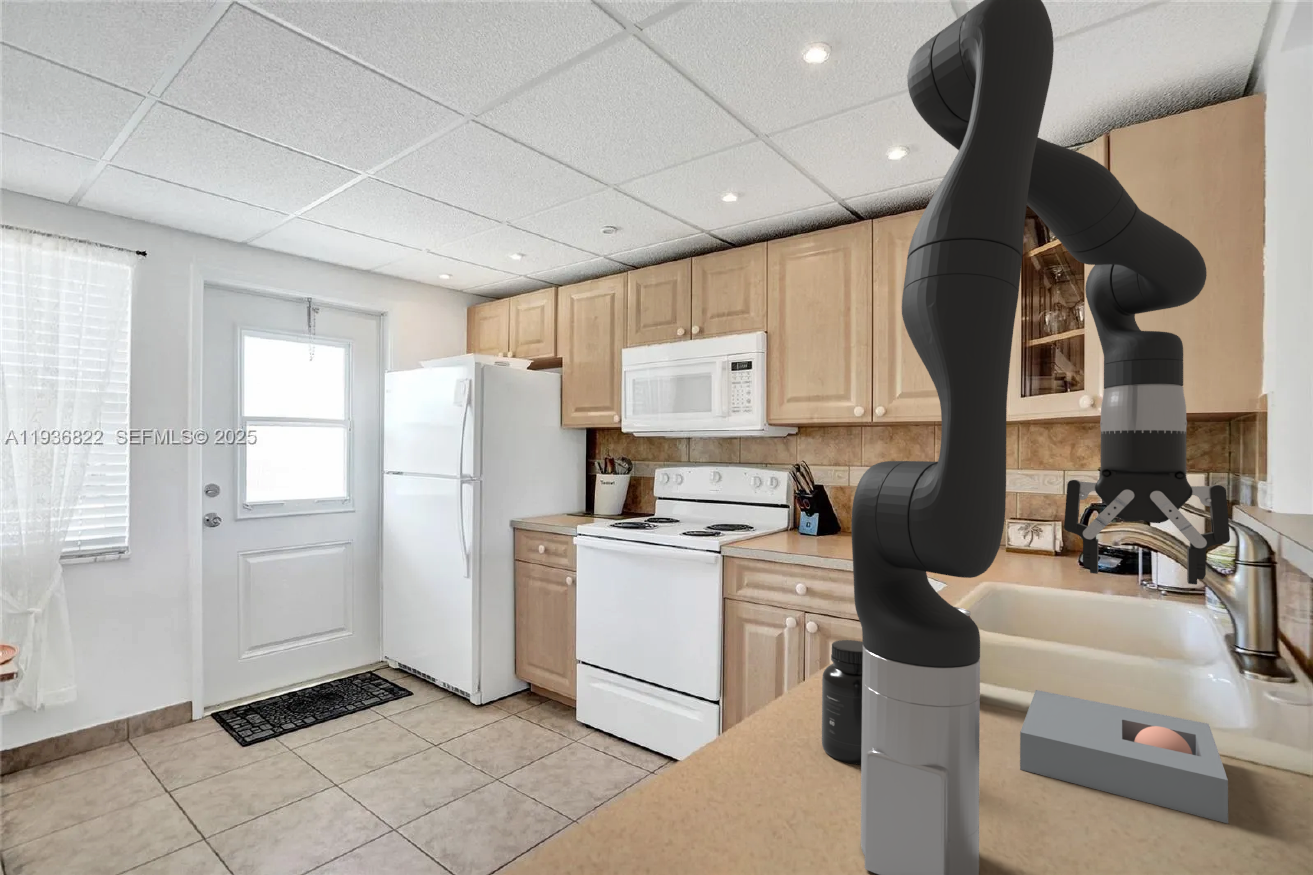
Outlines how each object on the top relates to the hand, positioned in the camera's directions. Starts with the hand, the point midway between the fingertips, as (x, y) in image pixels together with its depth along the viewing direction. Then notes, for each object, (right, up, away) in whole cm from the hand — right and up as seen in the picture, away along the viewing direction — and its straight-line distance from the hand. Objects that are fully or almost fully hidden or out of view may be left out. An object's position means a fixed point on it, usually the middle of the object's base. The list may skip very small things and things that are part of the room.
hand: (1141, 577), depth 70 cm
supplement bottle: (-30, -21, +3) cm, 37 cm away
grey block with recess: (-2, -21, +1) cm, 21 cm away
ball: (+2, -19, -1) cm, 19 cm away
